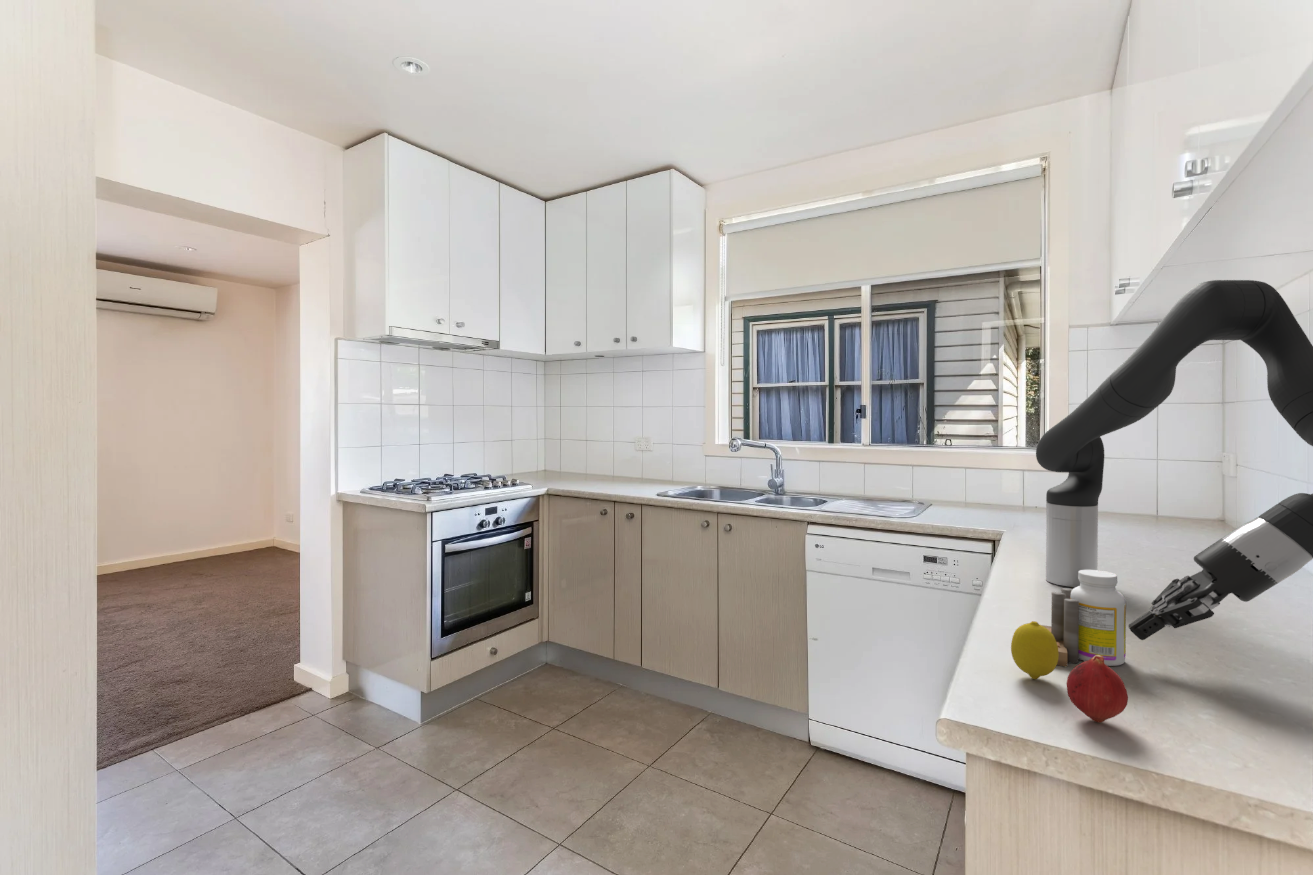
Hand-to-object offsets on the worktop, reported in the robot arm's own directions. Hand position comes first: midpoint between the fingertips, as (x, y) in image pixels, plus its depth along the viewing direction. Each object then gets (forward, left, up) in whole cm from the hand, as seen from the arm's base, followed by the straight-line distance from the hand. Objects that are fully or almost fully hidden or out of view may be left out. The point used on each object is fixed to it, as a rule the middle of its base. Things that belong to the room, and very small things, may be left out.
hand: (1134, 633), depth 87 cm
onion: (+23, -7, -5) cm, 24 cm away
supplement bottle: (0, -4, -5) cm, 6 cm away
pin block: (0, -11, -4) cm, 12 cm away
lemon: (+13, -13, -5) cm, 19 cm away
